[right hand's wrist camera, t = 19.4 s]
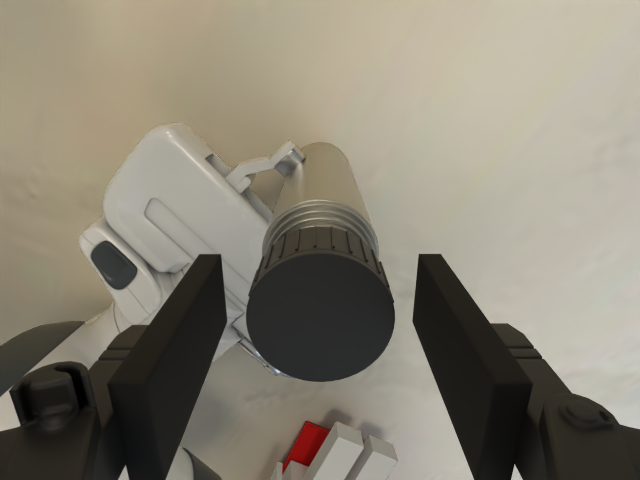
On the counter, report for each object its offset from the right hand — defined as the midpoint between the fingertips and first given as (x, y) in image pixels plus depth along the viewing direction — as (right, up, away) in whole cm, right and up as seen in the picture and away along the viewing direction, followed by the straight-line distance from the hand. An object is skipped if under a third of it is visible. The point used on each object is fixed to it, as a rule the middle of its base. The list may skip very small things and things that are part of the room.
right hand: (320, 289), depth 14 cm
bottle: (0, +7, +19) cm, 20 cm away
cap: (0, -1, -2) cm, 2 cm away
